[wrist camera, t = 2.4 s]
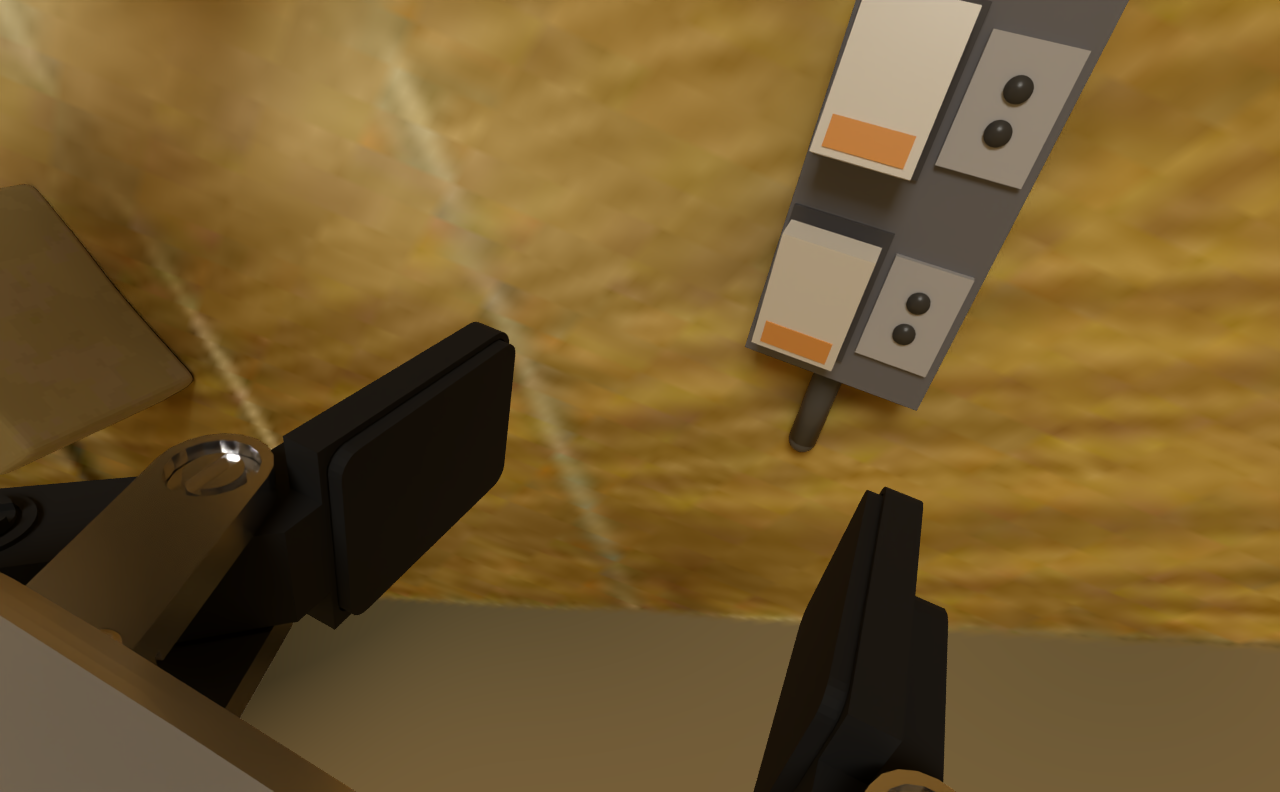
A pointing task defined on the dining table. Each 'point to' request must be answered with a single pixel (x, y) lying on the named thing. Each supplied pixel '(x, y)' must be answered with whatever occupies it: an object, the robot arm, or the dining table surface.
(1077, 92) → the power strip
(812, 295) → the block
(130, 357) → the beige slab
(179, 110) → the dining table surface
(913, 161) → the rocker
